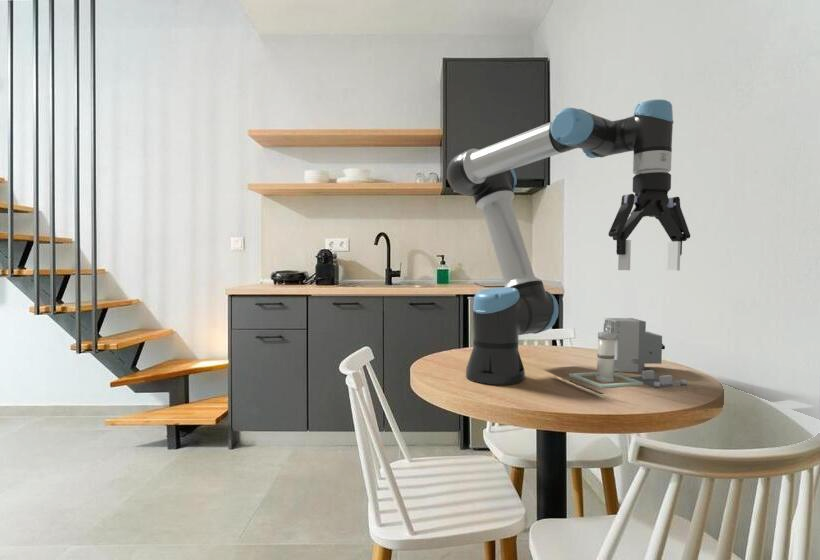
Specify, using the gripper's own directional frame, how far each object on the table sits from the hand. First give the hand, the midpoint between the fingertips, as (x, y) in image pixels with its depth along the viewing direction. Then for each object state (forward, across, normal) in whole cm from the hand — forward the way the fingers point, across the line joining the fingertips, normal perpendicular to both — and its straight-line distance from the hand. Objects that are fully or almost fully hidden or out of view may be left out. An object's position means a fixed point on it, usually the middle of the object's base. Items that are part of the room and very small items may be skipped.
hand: (649, 270), depth 104 cm
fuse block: (+29, +10, +7) cm, 31 cm away
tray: (+29, -2, +12) cm, 31 cm away
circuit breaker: (+29, +15, +20) cm, 38 cm away
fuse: (+28, -2, +11) cm, 30 cm away
